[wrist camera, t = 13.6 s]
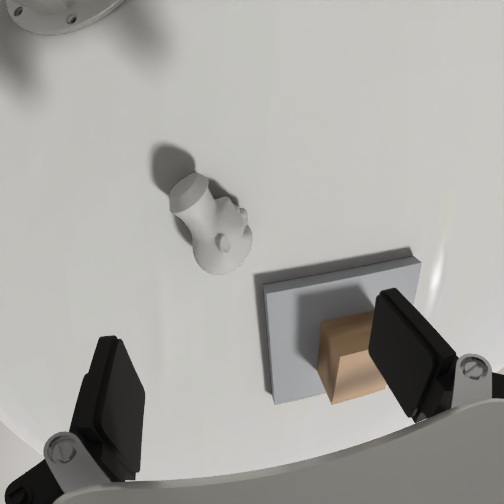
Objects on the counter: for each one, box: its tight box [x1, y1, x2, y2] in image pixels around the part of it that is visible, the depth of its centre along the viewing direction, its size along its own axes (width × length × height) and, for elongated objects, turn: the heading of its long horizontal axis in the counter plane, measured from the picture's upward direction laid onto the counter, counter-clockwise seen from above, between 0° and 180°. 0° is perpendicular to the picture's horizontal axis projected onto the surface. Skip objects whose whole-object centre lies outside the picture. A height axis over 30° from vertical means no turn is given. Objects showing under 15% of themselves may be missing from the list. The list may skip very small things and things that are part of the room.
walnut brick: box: [317, 310, 386, 405], centre depth 30 cm, size 7×6×5 cm
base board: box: [263, 256, 421, 405], centre depth 33 cm, size 16×16×2 cm
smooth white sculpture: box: [169, 173, 252, 275], centre depth 24 cm, size 4×8×5 cm
